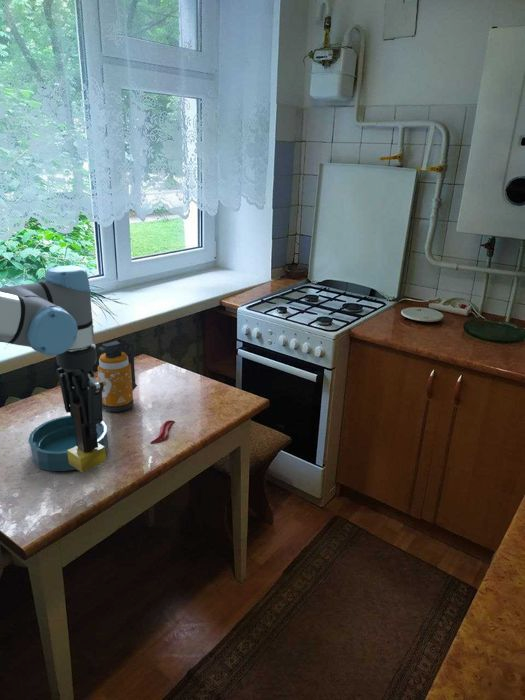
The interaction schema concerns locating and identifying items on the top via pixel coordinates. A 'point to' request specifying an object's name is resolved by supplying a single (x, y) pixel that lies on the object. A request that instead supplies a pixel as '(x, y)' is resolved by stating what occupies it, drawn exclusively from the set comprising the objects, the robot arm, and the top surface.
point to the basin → (58, 443)
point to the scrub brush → (78, 453)
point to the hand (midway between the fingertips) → (87, 446)
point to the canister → (117, 375)
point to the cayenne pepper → (163, 431)
